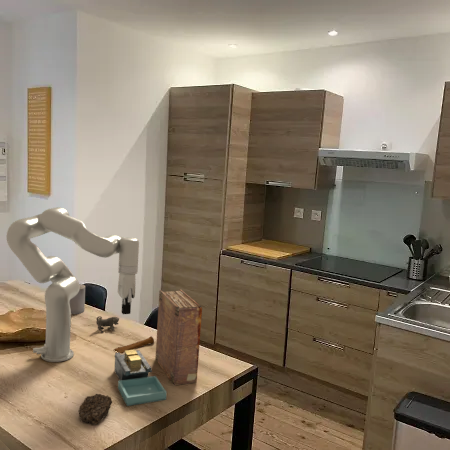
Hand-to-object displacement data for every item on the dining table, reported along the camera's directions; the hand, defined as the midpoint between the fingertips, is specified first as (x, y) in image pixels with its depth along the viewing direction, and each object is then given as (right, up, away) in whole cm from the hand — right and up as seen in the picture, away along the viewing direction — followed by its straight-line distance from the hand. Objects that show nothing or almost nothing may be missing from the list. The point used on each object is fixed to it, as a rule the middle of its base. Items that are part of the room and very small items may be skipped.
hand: (125, 313), depth 189 cm
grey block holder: (+4, -23, -9) cm, 25 cm away
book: (+20, -23, 0) cm, 30 cm away
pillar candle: (-40, -11, +61) cm, 74 cm away
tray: (+10, -25, -21) cm, 34 cm away
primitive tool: (0, -20, +19) cm, 27 cm away
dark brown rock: (-3, -26, -37) cm, 45 cm away
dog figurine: (-17, -15, +38) cm, 44 cm away
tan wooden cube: (+3, -17, -7) cm, 18 cm away
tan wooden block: (+6, -17, -12) cm, 22 cm away
